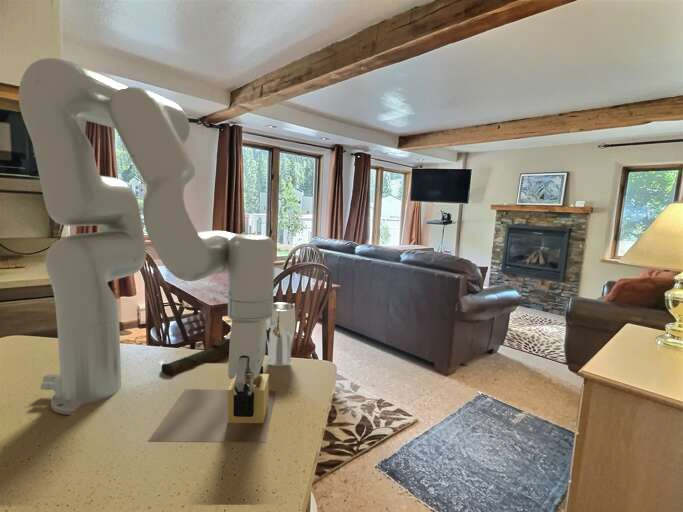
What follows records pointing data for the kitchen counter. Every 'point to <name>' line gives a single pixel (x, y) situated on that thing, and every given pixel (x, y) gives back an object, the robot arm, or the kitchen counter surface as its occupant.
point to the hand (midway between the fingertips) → (249, 400)
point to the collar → (259, 401)
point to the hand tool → (199, 358)
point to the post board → (209, 420)
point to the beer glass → (280, 334)
